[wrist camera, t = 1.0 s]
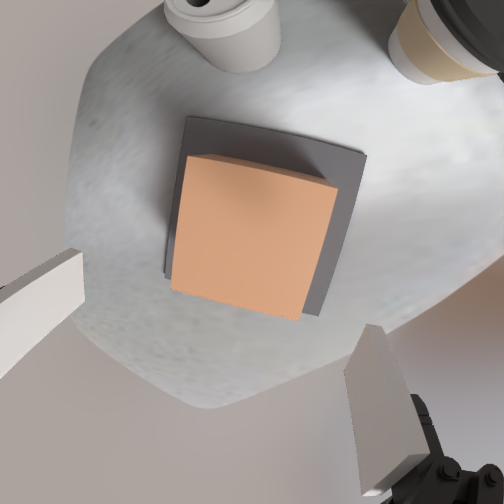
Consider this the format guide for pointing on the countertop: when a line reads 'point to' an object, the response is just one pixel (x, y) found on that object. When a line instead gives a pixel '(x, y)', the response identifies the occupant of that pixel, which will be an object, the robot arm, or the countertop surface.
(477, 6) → the coffee cup
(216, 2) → the white soda can
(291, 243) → the orange block
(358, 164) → the mat
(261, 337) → the countertop surface
